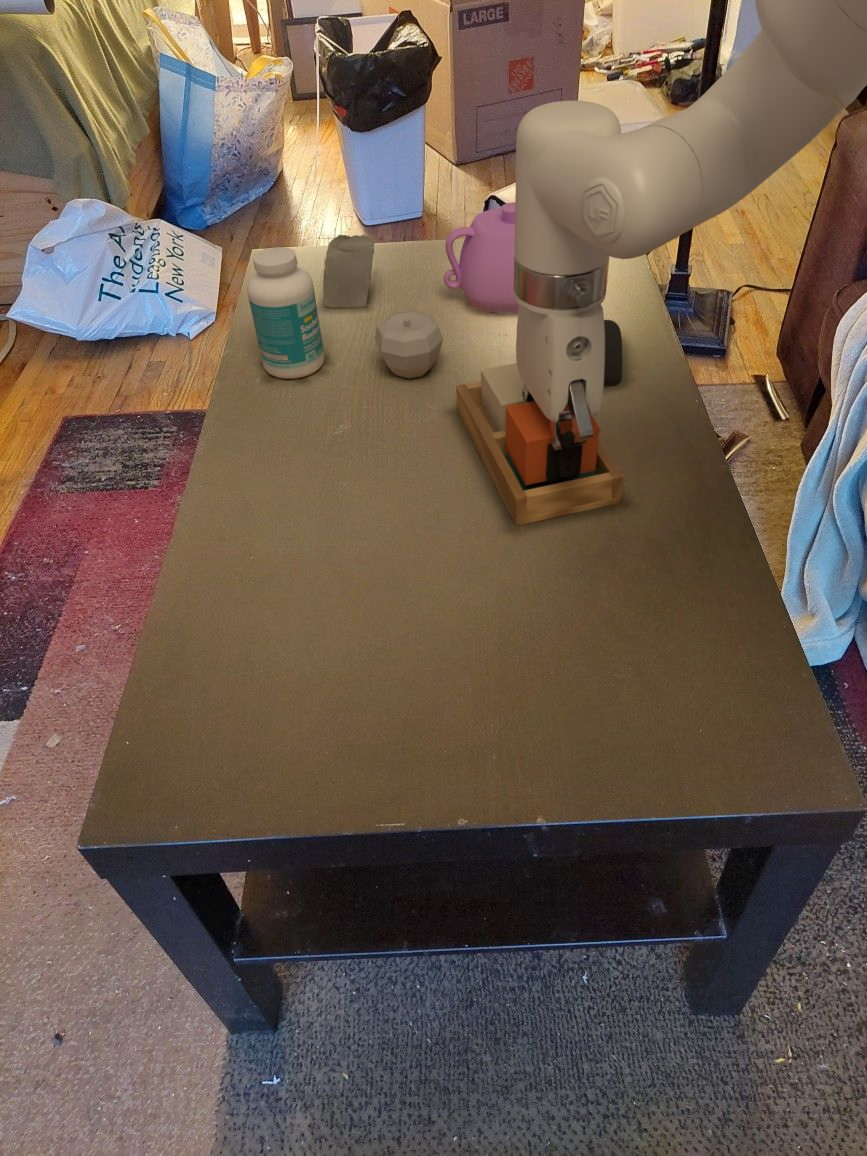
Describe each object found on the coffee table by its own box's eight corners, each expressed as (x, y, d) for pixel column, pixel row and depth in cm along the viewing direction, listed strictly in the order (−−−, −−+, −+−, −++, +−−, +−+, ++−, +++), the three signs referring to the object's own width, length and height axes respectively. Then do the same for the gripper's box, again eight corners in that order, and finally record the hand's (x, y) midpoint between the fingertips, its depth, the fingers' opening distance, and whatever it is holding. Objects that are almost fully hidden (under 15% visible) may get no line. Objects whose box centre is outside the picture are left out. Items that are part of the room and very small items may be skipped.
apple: (364, 369, 100) (357, 318, 95) (416, 346, 103) (412, 295, 98) (405, 397, 95) (400, 344, 90) (458, 371, 98) (456, 319, 94)
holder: (547, 393, 94) (548, 367, 91) (620, 503, 80) (624, 476, 78) (457, 411, 92) (455, 385, 90) (515, 526, 78) (516, 499, 76)
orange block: (572, 435, 84) (575, 392, 80) (595, 471, 79) (600, 427, 76) (505, 449, 83) (505, 406, 79) (525, 485, 78) (526, 442, 75)
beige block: (533, 399, 92) (535, 359, 88) (556, 435, 87) (559, 393, 83) (481, 410, 91) (480, 369, 87) (501, 446, 86) (501, 405, 82)
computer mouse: (617, 335, 102) (620, 304, 99) (622, 386, 94) (626, 354, 91) (564, 335, 103) (566, 304, 100) (565, 385, 95) (567, 354, 92)
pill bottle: (321, 380, 98) (303, 269, 89) (259, 383, 99) (234, 272, 89) (328, 348, 104) (311, 239, 94) (269, 350, 104) (246, 242, 94)
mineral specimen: (391, 300, 110) (372, 243, 104) (329, 319, 111) (306, 263, 105) (389, 273, 115) (370, 217, 109) (329, 291, 116) (308, 237, 110)
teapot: (451, 328, 105) (448, 235, 97) (438, 281, 115) (434, 192, 106) (608, 311, 106) (617, 217, 98) (582, 265, 116) (589, 176, 107)
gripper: (649, 318, 63) (623, 503, 75) (565, 228, 74) (555, 401, 87) (554, 336, 61) (544, 521, 74) (484, 242, 73) (485, 415, 86)
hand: (550, 455), depth 81 cm, fingers closed on orange block, 6 cm apart
